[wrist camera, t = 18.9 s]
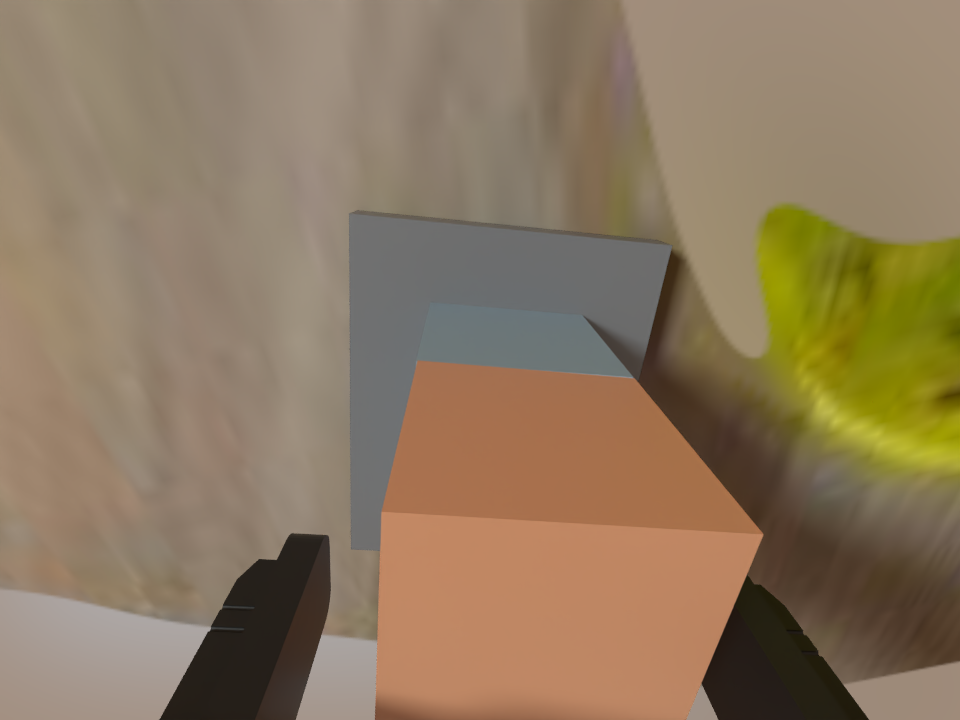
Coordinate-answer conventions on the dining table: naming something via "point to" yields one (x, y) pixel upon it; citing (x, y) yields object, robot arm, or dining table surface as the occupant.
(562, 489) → the terracotta brick
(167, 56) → the dining table surface
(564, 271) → the baseplate
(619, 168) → the dining table surface
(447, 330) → the slate brick
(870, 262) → the dining table surface
